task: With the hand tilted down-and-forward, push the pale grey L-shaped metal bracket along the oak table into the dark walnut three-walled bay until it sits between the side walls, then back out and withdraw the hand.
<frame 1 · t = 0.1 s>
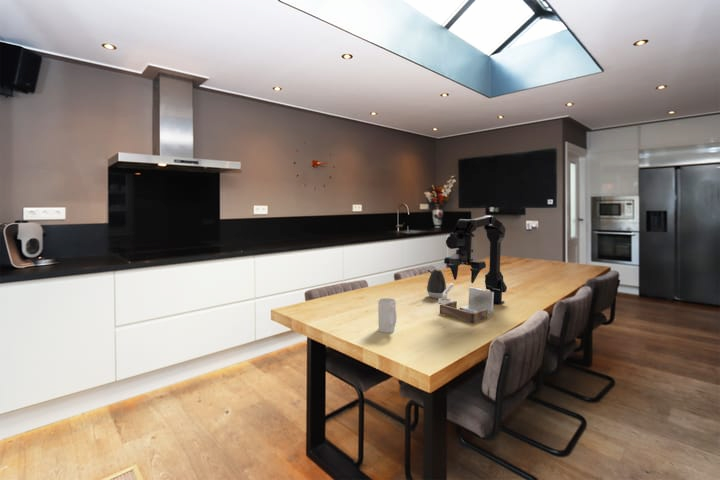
hand: (463, 281, 168), 15 cm above the table, tool pointing down, fingers open, 9 cm apart
pump dispenser: (436, 297, 197), on the table
hook: (445, 302, 187), on the table
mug: (388, 331, 144), on the table
bay: (462, 315, 165), on the table
bracket: (481, 310, 174), on the table
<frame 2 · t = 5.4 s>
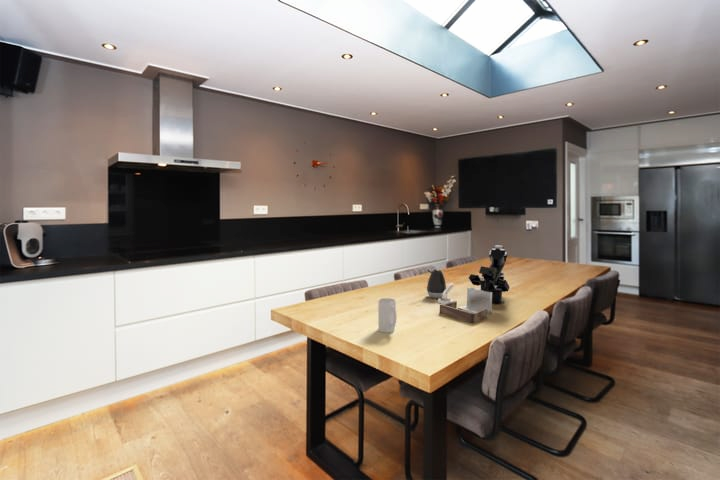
hand: (481, 296, 172), 7 cm above the table, tool tilted 45°, fingers closed
bracket: (479, 310, 173), on the table, touching gripper
everything else where it was.
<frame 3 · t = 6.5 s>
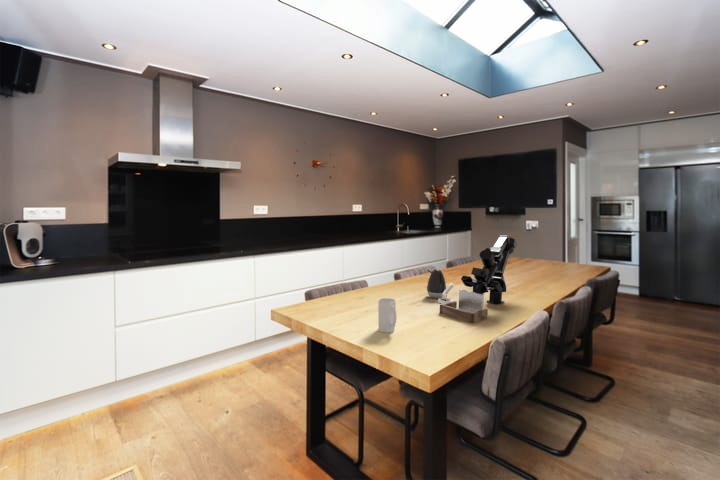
hand: (473, 298, 169), 7 cm above the table, tool tilted 45°, fingers closed, pressing on bracket
bracket: (471, 312, 169), on the table, touching gripper
everything else where it was.
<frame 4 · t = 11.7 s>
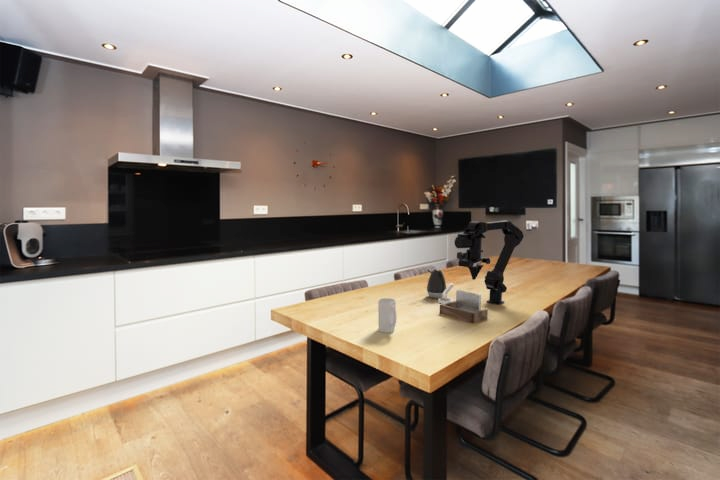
hand: (473, 279, 180), 13 cm above the table, tool pointing down, fingers closed
bracket: (468, 313, 168), on the table
everything else where it was.
at the end: bracket 0.9 cm from the target spot on the bay, point 0.0 cm above the bay's base; bracket tilted 0°; bracket moved 9.8 cm from its start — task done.
